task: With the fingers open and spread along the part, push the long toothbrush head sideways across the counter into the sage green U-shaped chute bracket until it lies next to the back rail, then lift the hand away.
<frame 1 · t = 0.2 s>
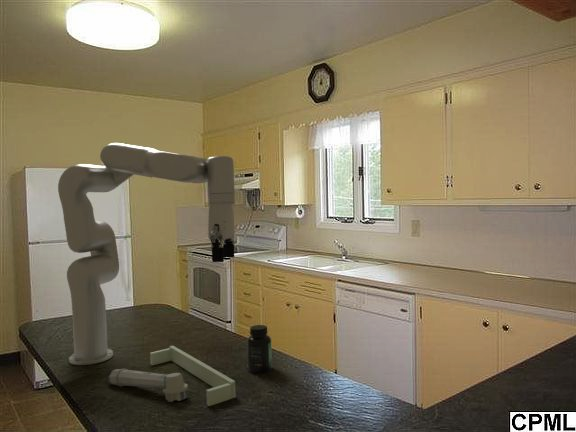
hand: (223, 259, 131), 31 cm above the counter, tool pointing down, fingers open, 9 cm apart
supplement bottle: (260, 369, 129), on the counter
chute bracket: (183, 380, 122), on the counter
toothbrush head: (147, 392, 117), on the counter
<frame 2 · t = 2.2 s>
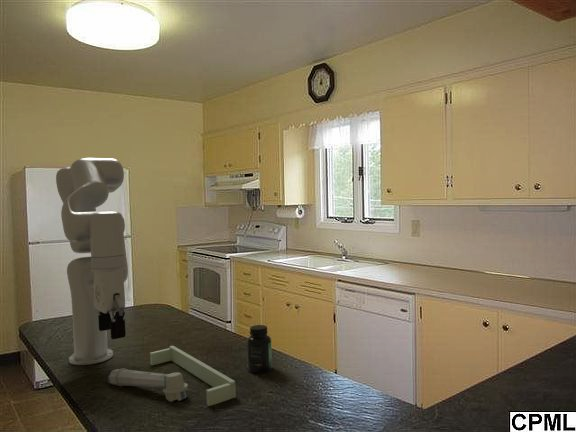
hand: (111, 333, 110), 17 cm above the counter, tool pointing down, fingers open, 9 cm apart
nothing on the counter moved.
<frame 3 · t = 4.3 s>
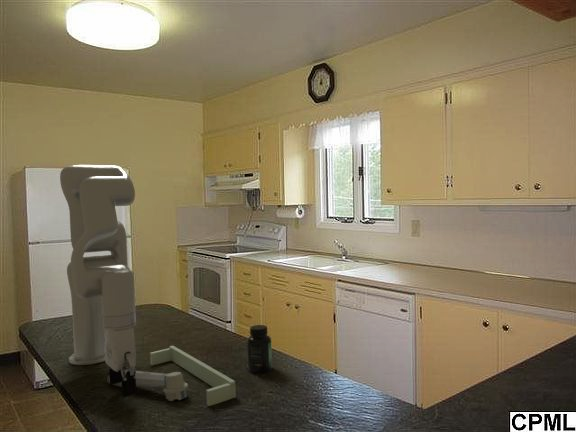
hand: (122, 389, 113), 2 cm above the counter, tool pointing down, fingers open, 9 cm apart
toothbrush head: (147, 392, 117), on the counter, touching gripper
everything else where it was.
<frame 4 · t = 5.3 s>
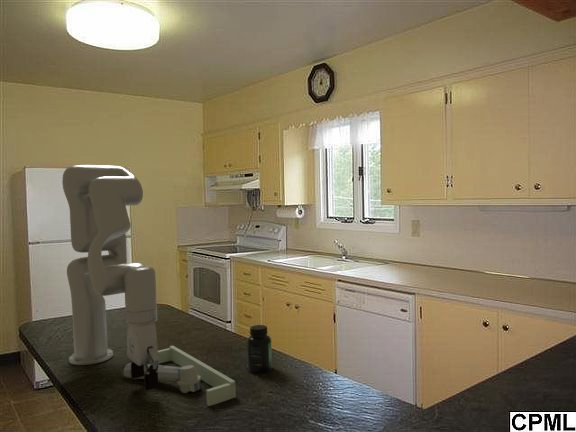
hand: (144, 382, 116), 2 cm above the counter, tool pointing down, fingers open, 9 cm apart
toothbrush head: (161, 385, 121), on the counter, touching gripper
everything else where it was.
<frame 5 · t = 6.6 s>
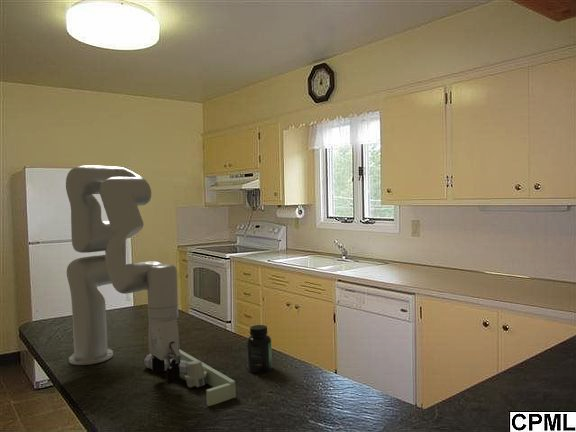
hand: (165, 376, 119), 2 cm above the counter, tool pointing down, fingers open, 9 cm apart
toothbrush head: (174, 377, 126), on the counter, touching chute bracket, gripper
everything else where it was.
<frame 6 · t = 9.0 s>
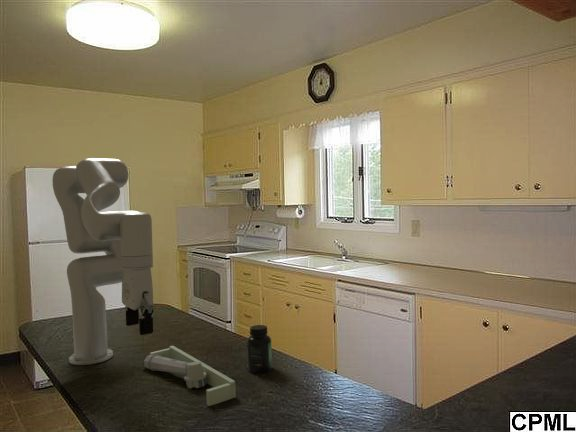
hand: (139, 329, 115), 16 cm above the counter, tool pointing down, fingers open, 9 cm apart
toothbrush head: (174, 378, 125), on the counter
everything else where it was.
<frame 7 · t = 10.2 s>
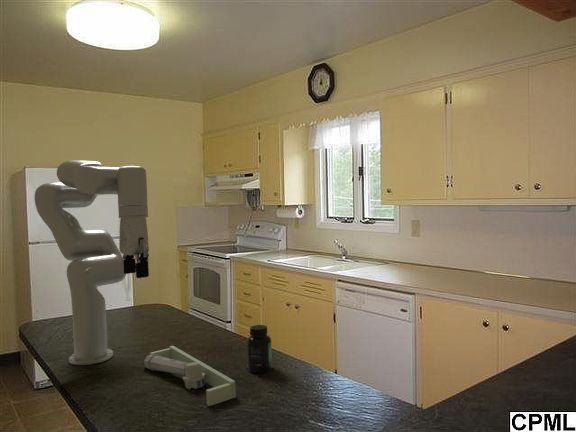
hand: (136, 275, 124), 28 cm above the counter, tool pointing down, fingers open, 9 cm apart
nothing on the counter moved.
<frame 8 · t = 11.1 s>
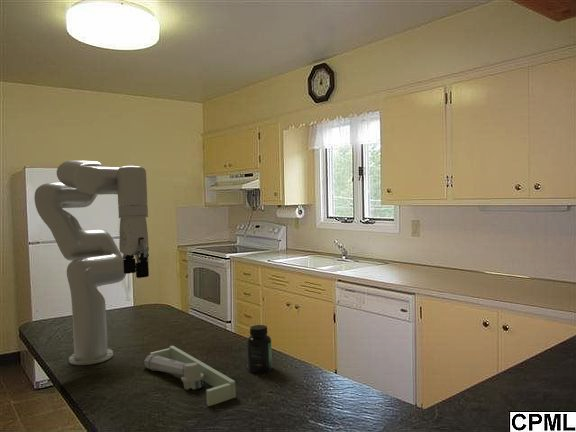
hand: (136, 275, 124), 28 cm above the counter, tool pointing down, fingers open, 9 cm apart
nothing on the counter moved.
at the end: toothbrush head inside the target area on the chute bracket (4.4 cm from its centre), point -0.5 cm above the chute bracket's base; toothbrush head moved 9.8 cm from its start; the gripper is holding nothing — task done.
